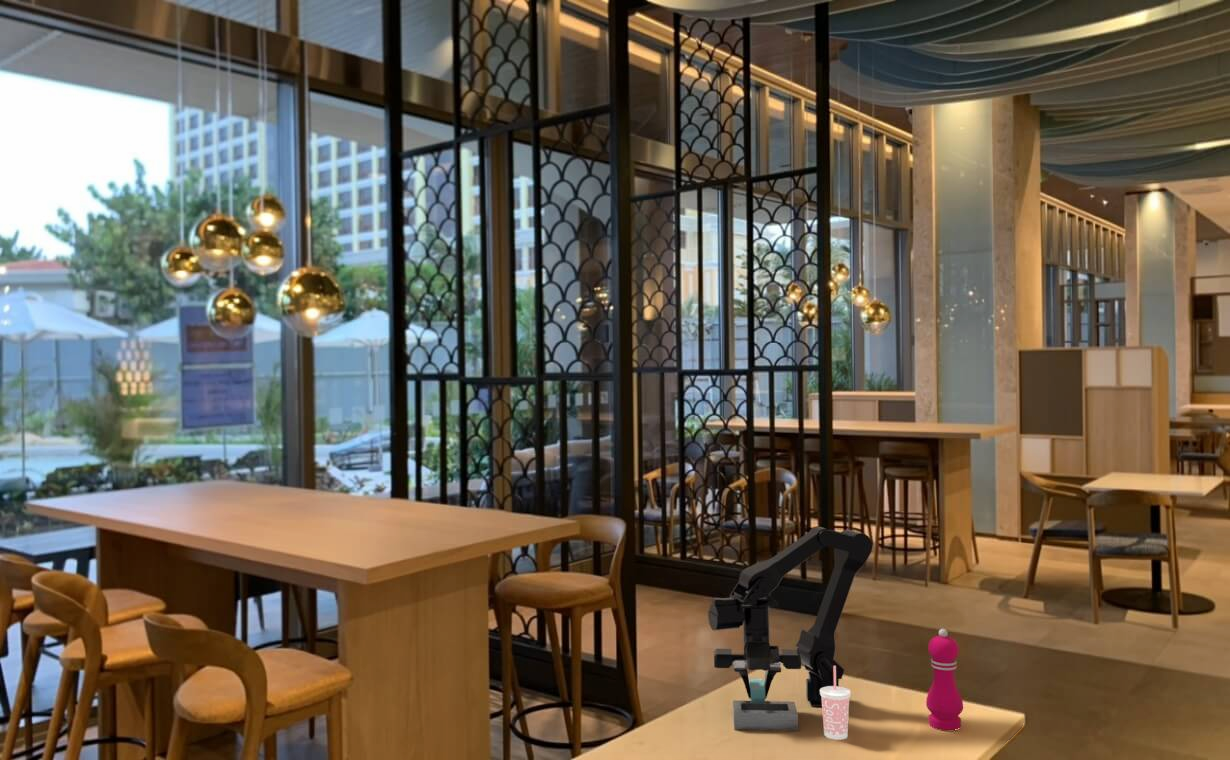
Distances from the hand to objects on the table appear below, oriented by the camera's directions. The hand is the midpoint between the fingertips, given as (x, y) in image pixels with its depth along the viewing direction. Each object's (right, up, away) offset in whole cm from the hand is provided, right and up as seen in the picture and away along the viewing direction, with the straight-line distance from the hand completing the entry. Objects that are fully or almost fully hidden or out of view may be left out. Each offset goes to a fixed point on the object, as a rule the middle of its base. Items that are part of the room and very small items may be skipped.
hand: (757, 697), depth 199 cm
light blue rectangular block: (0, -3, 0) cm, 2 cm away
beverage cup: (+13, -2, -16) cm, 21 cm away
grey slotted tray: (0, -2, -9) cm, 9 cm away
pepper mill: (+37, -2, -11) cm, 39 cm away
